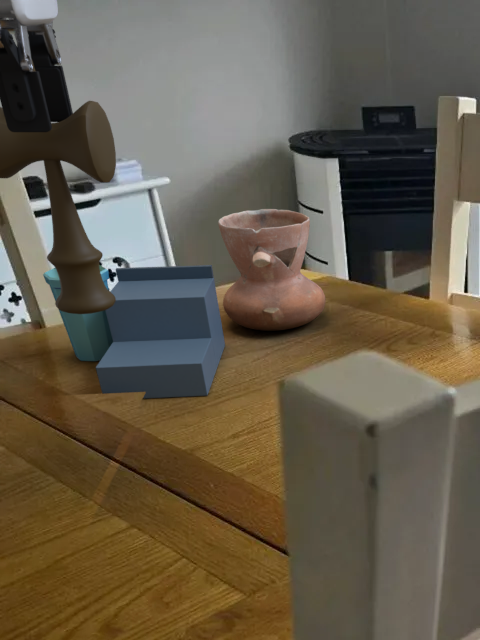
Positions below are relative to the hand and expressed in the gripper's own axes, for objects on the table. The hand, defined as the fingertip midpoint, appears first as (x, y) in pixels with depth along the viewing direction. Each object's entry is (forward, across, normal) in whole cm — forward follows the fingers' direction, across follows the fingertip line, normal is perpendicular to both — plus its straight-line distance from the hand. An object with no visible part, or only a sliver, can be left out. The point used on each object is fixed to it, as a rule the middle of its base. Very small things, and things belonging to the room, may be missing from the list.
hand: (42, 123), depth 67 cm
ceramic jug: (+30, -43, +13) cm, 54 cm away
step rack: (+30, -25, 0) cm, 39 cm away
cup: (+31, -31, -10) cm, 45 cm away
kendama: (+15, 0, 0) cm, 15 cm away
